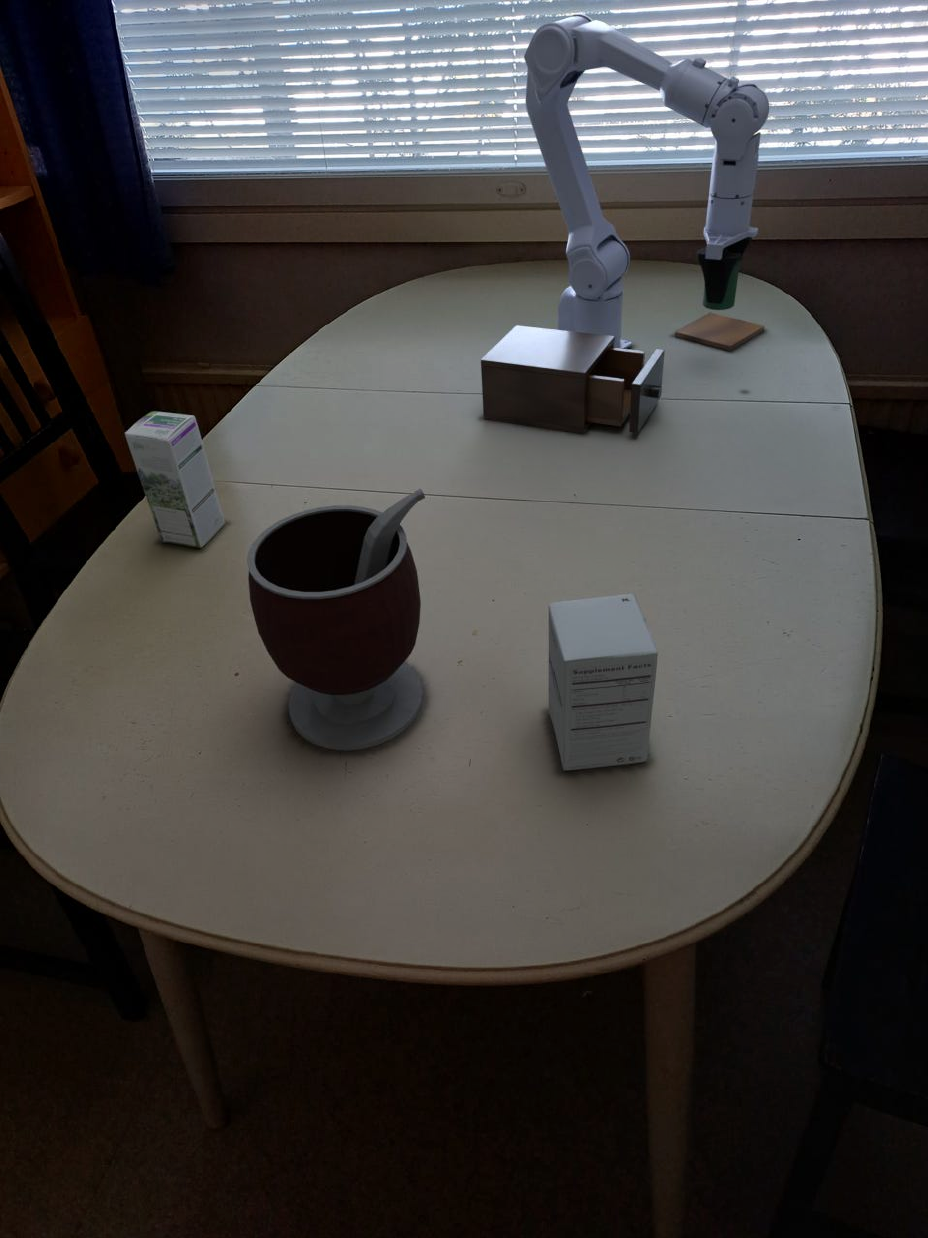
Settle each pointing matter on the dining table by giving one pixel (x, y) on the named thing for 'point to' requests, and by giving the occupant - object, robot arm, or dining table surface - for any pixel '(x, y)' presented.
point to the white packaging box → (601, 681)
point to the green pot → (730, 292)
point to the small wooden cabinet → (541, 377)
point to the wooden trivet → (719, 331)
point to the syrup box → (176, 478)
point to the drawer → (624, 387)
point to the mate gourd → (341, 620)
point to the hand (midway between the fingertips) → (719, 295)
